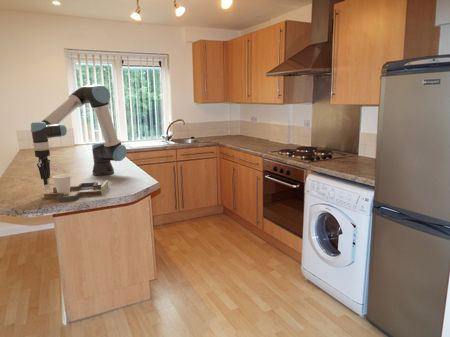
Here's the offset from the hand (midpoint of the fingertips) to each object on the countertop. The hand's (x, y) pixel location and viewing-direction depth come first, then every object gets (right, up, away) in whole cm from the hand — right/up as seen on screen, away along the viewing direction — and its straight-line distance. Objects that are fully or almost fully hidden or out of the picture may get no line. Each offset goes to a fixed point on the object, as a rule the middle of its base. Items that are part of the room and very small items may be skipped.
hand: (47, 189), depth 192 cm
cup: (+9, -3, +2) cm, 9 cm away
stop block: (+32, -1, +5) cm, 32 cm away
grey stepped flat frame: (+17, -2, +3) cm, 17 cm away
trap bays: (+17, -2, +3) cm, 17 cm away
